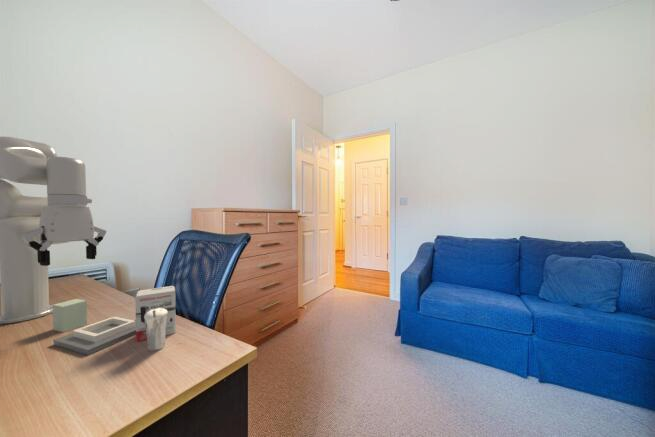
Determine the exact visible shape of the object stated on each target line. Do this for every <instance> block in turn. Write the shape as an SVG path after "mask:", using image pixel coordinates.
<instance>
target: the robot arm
mask: <svg viewBox="0 0 655 437" xmlns="http://www.w3.org/2000/svg"><path fill="white" fill-rule="evenodd" d="M86 176H87V174H86V164H85V162H84V161H82V160H81V159H78V158H74V157H67V156H58V155H57V152H56V150H55V148H53V147H52V146H51V145H49V144H46V143H44V142H40V141H39V142H38V141H33V140H29V139H24V138H18V137H11V136H0V312H1V313H0V325H4V324H13V323H19V322H24V321H29V320H34V319H38V318H40V317H44V316H47V315H49V314H53V305H54V304H50V296H49V293H50V290H49V289H50V288H49V266H50V265H51V252H50V250H49V247H51V246H52V245H60V244H67V243H70V242H81V241H83V242H85V243H86V244H87V245H86V246H85V256H86V257H85V258H86V260H96V256H97V246H99V243H101V242H102V241H103V239H104V237H105V235H106V234H107V230H105V229H102V228H101V227H97V226H94V221H93V215H92V212H91V209H90V207H89V206H88V204H92V201H93V199H91V198H89V197H88V196H87V182H86V180H87V179H86V178H87V177H86ZM6 180H7V181H6ZM8 181H10V182H13V183H17V184H24V185H39V186H46V195H47V196H46V197H45V196H28V195H23V194H22V193H21V191H20V190H19V189H18V187H16V186H15V185H13V184H11V183H10V182H8ZM95 233H97V234H96V235H97V236H95Z"/></svg>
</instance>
